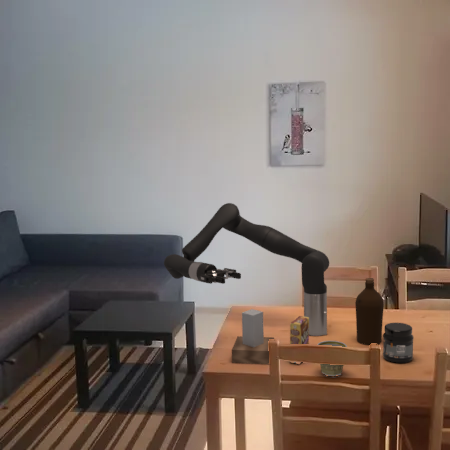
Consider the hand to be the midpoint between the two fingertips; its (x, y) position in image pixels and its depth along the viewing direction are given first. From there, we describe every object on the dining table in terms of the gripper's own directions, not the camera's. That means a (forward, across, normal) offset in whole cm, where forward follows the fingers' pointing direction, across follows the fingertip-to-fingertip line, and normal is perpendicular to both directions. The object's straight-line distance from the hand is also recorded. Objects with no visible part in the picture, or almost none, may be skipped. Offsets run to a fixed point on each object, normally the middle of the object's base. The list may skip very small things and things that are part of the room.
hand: (232, 278), depth 228 cm
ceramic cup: (+42, +6, +28) cm, 51 cm away
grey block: (+10, 0, +23) cm, 25 cm away
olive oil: (+34, +41, +28) cm, 60 cm away
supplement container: (+51, +32, +29) cm, 67 cm away
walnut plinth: (+10, 0, +28) cm, 30 cm away
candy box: (+25, +8, +28) cm, 39 cm away
